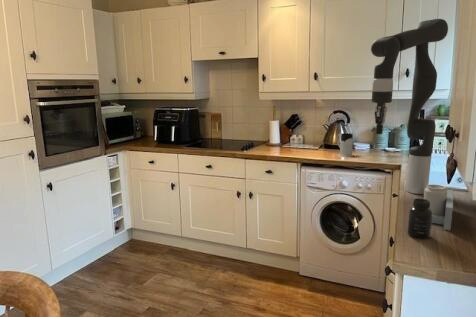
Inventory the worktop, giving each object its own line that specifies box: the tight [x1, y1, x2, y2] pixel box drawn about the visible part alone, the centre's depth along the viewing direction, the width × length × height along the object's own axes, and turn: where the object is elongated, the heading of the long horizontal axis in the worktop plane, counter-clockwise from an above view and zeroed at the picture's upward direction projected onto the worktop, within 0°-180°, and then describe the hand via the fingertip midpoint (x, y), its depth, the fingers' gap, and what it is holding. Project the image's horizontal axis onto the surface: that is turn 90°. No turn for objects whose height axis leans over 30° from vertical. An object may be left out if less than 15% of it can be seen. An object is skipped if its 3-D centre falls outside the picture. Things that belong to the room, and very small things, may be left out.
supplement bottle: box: [407, 198, 433, 240], centre depth 121 cm, size 7×7×12 cm
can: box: [423, 184, 447, 217], centre depth 137 cm, size 8×8×12 cm
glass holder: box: [336, 132, 354, 158], centre depth 256 cm, size 9×14×15 cm, turn 24°
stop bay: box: [432, 189, 454, 231], centre depth 137 cm, size 24×10×8 cm, turn 150°
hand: (379, 133), depth 150 cm, fingers closed
